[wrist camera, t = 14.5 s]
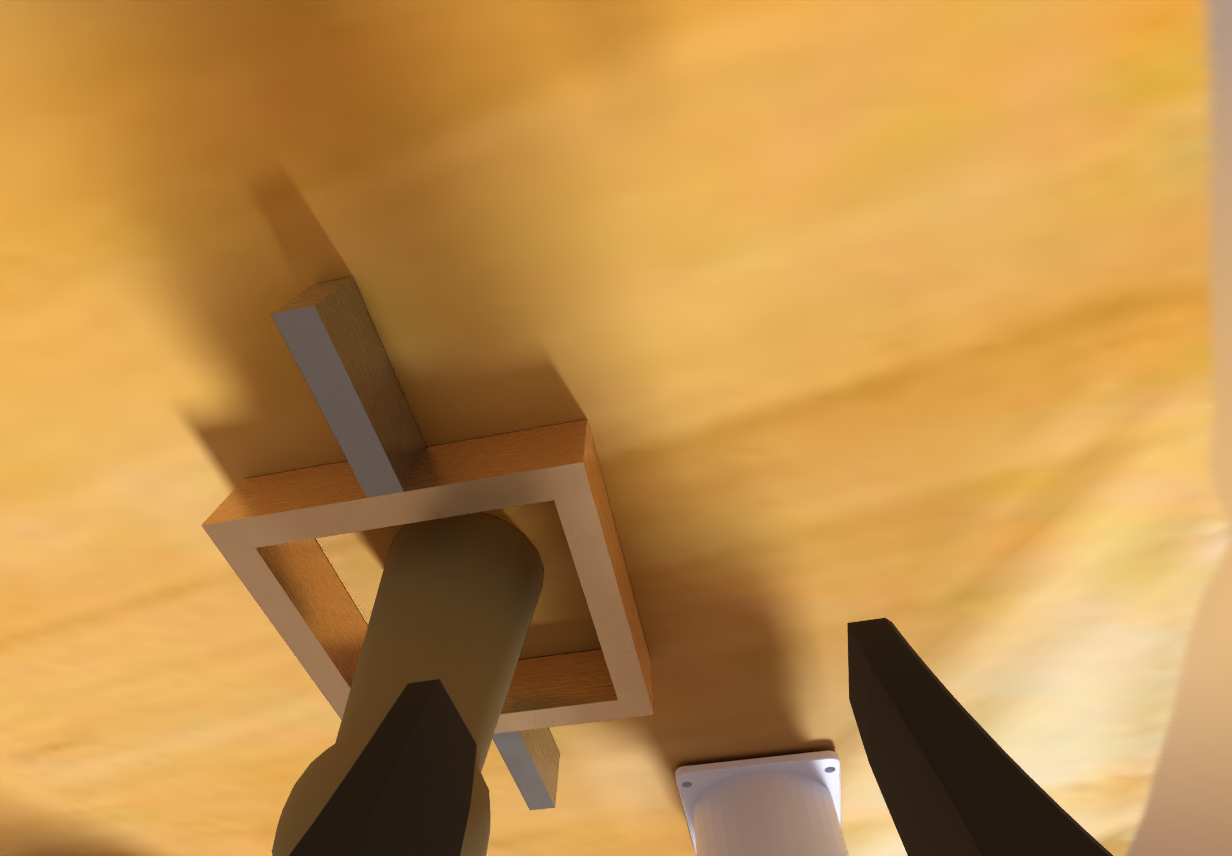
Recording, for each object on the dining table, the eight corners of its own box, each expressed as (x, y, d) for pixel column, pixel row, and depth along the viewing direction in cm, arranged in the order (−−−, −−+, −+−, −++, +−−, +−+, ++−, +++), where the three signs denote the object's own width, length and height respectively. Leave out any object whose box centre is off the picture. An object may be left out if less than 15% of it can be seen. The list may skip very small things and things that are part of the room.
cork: (363, 585, 24) (195, 925, 14) (428, 483, 21) (273, 816, 12) (498, 643, 25) (427, 980, 16) (573, 555, 23) (541, 896, 13)
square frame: (671, 741, 29) (675, 795, 27) (429, 768, 30) (415, 821, 28) (539, 237, 17) (527, 262, 15) (142, 320, 18) (77, 354, 16)
